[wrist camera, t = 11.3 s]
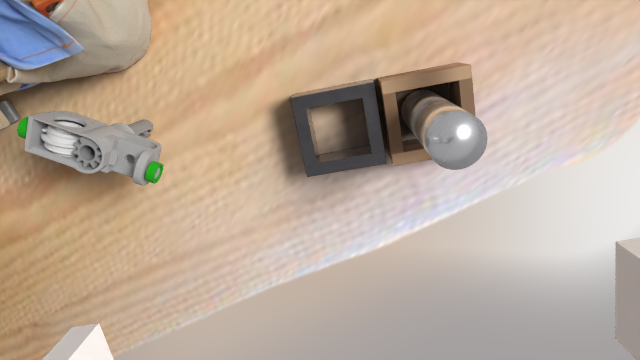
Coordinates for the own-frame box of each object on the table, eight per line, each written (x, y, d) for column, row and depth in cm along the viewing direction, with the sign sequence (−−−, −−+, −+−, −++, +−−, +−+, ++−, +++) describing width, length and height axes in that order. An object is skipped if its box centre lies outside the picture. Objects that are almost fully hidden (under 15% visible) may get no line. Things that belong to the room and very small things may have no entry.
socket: (309, 167, 41) (307, 176, 38) (294, 93, 39) (290, 97, 36) (383, 154, 40) (386, 163, 38) (371, 79, 38) (373, 82, 36)
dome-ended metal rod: (404, 133, 40) (430, 174, 27) (398, 93, 39) (423, 117, 26) (444, 126, 39) (489, 164, 27) (439, 86, 38) (484, 106, 26)
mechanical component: (193, 160, 42) (148, 195, 32) (89, 124, 41) (12, 148, 32) (201, 131, 41) (157, 159, 31) (95, 94, 40) (17, 110, 31)
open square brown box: (388, 153, 40) (393, 165, 37) (377, 77, 38) (380, 81, 34) (465, 140, 40) (478, 151, 36) (458, 62, 38) (470, 64, 34)
